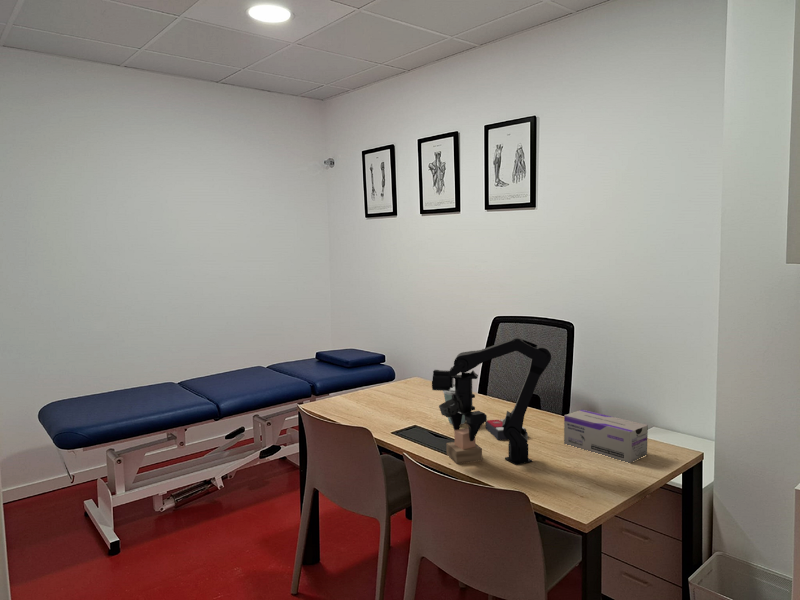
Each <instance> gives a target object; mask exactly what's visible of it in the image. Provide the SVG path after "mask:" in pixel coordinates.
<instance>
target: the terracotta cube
mask: <svg viewBox="0 0 800 600" xmlns="http://www.w3.org/2000/svg"><path fill="white" fill-rule="evenodd" d="M453 430H454V429H453ZM453 432H454V433H453V434H454V442H455V445H456V446H458V447H459V448H461V449H467V448H472V447H476V445H475V443H476V438H475V439H474V441H470V438H469V429H468V427H465V428H460V429H459V430H454V431H453Z"/></svg>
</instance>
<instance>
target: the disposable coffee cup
mask: <svg viewBox="0 0 800 600" xmlns="http://www.w3.org/2000/svg"><path fill="white" fill-rule="evenodd" d="M442 393H443V395H444V402H446V401H448V400H451V399H452V395H453V394H454V393H455V383H454V384H453V388H450V391H442ZM447 418H448V419H447V420H448V423H449V424H450V425H452V422H451V419H450V417H447ZM465 422H466V420H465V415H463V416H462V420H461V424H462V425H464V424H465Z"/></svg>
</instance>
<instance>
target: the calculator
mask: <svg viewBox="0 0 800 600" xmlns="http://www.w3.org/2000/svg"><path fill="white" fill-rule="evenodd" d="M504 419H505V418H502V419H501V418H500V419H487V422H485V429H486V430H487V431H488V432H489V433H490V434H491V435H492V436H494V437H493V438H495V439H496V440H497V441H509V440H508V439H507V438H506V437H505V436H504V434H503V428H504V427H503V428H502V423H503V420H504ZM522 428H523V429H524V430H525V431H526V432H527V429H526V428H525V427H523V426H522Z"/></svg>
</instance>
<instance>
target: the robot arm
mask: <svg viewBox="0 0 800 600" xmlns="http://www.w3.org/2000/svg"><path fill="white" fill-rule="evenodd" d="M514 352H518V353H520V354H522V355H523V356H525V357H527V358H529V359H530V365H529V370H528V372H527V375H526V377H525V380H524V383H523V385H522V388H521V389H520V390H521V391H520V393H519V395H518V398H517V400H516V402H515V405H514V407H513V409H512V411H509V410H507V411H506V415H505V417H504V418H503V419H504V420H503V423H502V428H503V427H504V428H503V434H504V436H505V437H506V438H507V439H508V440H507V441H508V446H507V447H508V448H507V450H508V456H505V457H504V459H505V460H506V461H508V462H510V463H511V464H513V465H515V466H519V465H523V464H528V463H532V462H533V460H532V459H531V458H529V443H528V432H527V430H526V431H525V430H524V429H523V428H522V427H523V426H524V419H525V414H526V412H527V410H528V407H529V405H530V403H531V399H532V397H533V395H534V392H535V390H536V387H537V385H538V382H539V380H540V378H541V376H542V374H544V372H545V370H546V369H547V368H548V366H549V364H550V363H551V360H552V353H551V350H550V348H549V347H548V346H547V345H544V344H536V343H533V342H531V341H528V340H526V339H523V338H522V337H519V336H515V337H512V338H511V339H509V340H505V341H503V342H499V343H497V344H494V345H491V346H488V347H485V348H482V349H479V350H469V351H463V352H460V353H458V354H457V356H456V357H455V359H454V361H453V366H451V367H450V369H449V370H440V369H434V370H433V371H432V372H433V373H432V380H431V388H432V391H440V392H441V391H442V392H443V391H450V388H453V384H455V393H454V394H453V395H452V399H451V400H448V401H446V402H445V401H444V402H442V403H441V404H439V406H438V408H439V411H440V414H441V415H442V416H444V417H446V418H448V417H450V419H451V422H452V424H451V425H452V427H453V430H459V429H461V420H462V416H463V415H465V420H466V421H465V423H464V424H466V425H467V428H468V429H469V438H470V441H474V439H475V440H476V436H477V434H478V433H479V430H480V429H481V427H482V426H483V425H484V424H485V423H486V422H487V420H488V419H487V418H488V417H487V416H488V415H487V414H485V412H483V411H480V410H476V407H475V406H474V405H473V399H475V398H476V394H474V393H473V380H477V379H478V377H479V374H477V373H476V372H475V371H474V370H473V369H474V368H476V367H478V366H479V365H481V364H483V363H484V362H488V361H490V360H493V359H497V358H499V357H502V356H505V355H508V354H511V353H514ZM471 370H472V371H471ZM470 371H471V372H470Z"/></svg>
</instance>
